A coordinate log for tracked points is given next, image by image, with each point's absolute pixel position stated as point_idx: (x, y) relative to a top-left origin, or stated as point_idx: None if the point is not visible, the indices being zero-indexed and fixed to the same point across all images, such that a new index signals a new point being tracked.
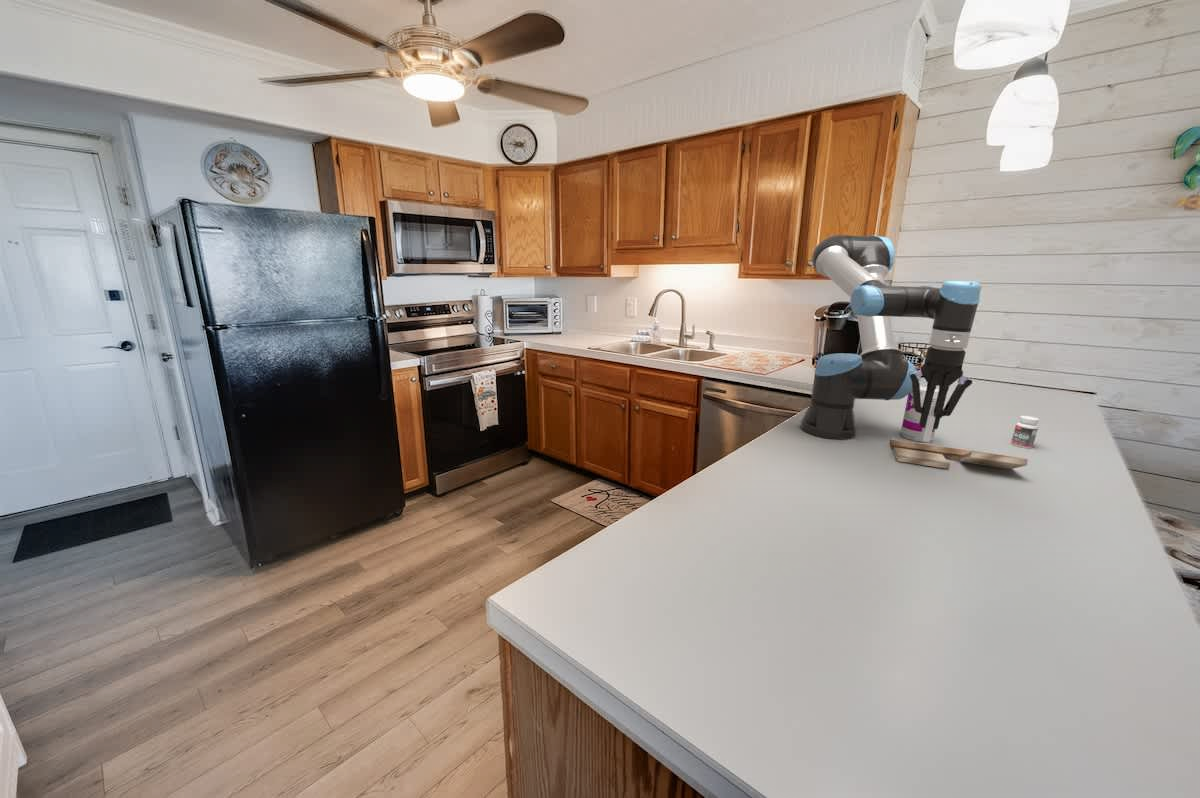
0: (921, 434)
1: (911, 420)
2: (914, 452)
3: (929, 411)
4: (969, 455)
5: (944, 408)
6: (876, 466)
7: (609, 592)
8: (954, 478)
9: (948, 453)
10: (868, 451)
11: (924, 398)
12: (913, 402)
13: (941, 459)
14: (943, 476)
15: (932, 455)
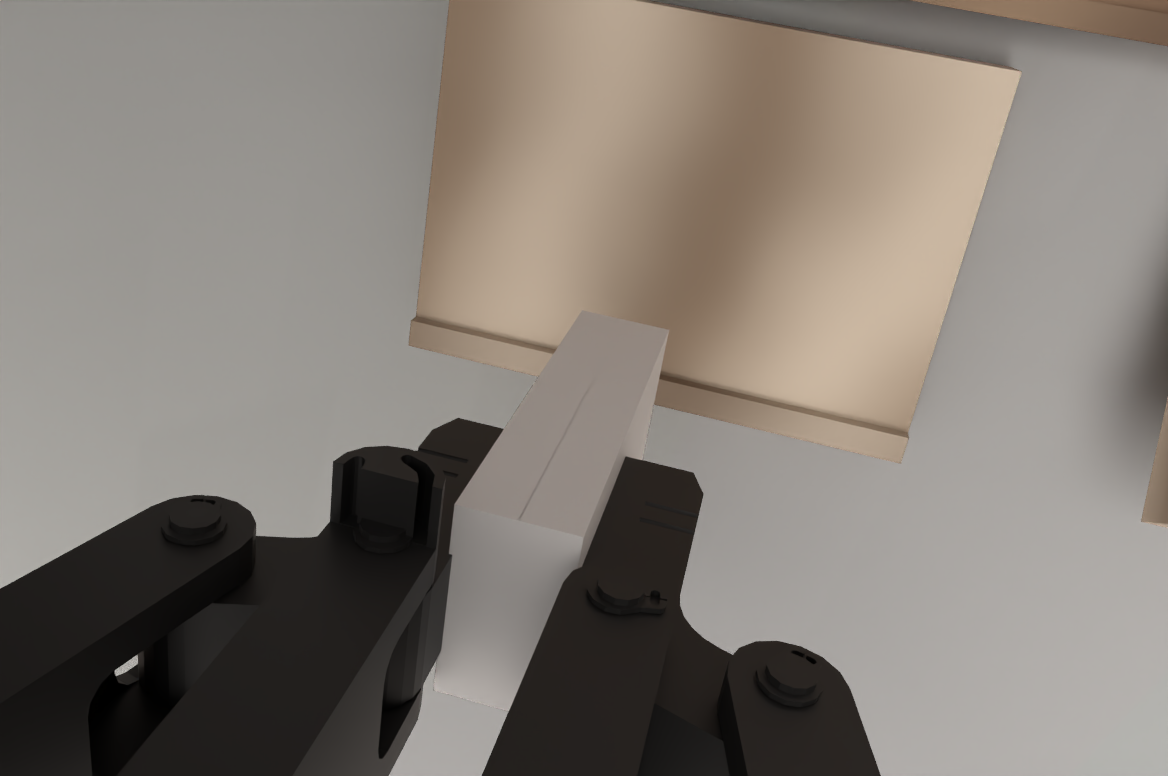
0: (568, 338)
1: None
2: (650, 120)
3: (394, 758)
4: (1163, 471)
5: (726, 752)
6: (233, 470)
7: None
8: (841, 617)
9: (1130, 35)
10: (207, 50)
11: (157, 738)
12: (37, 576)
13: (886, 308)
14: (755, 589)
15: (843, 176)
